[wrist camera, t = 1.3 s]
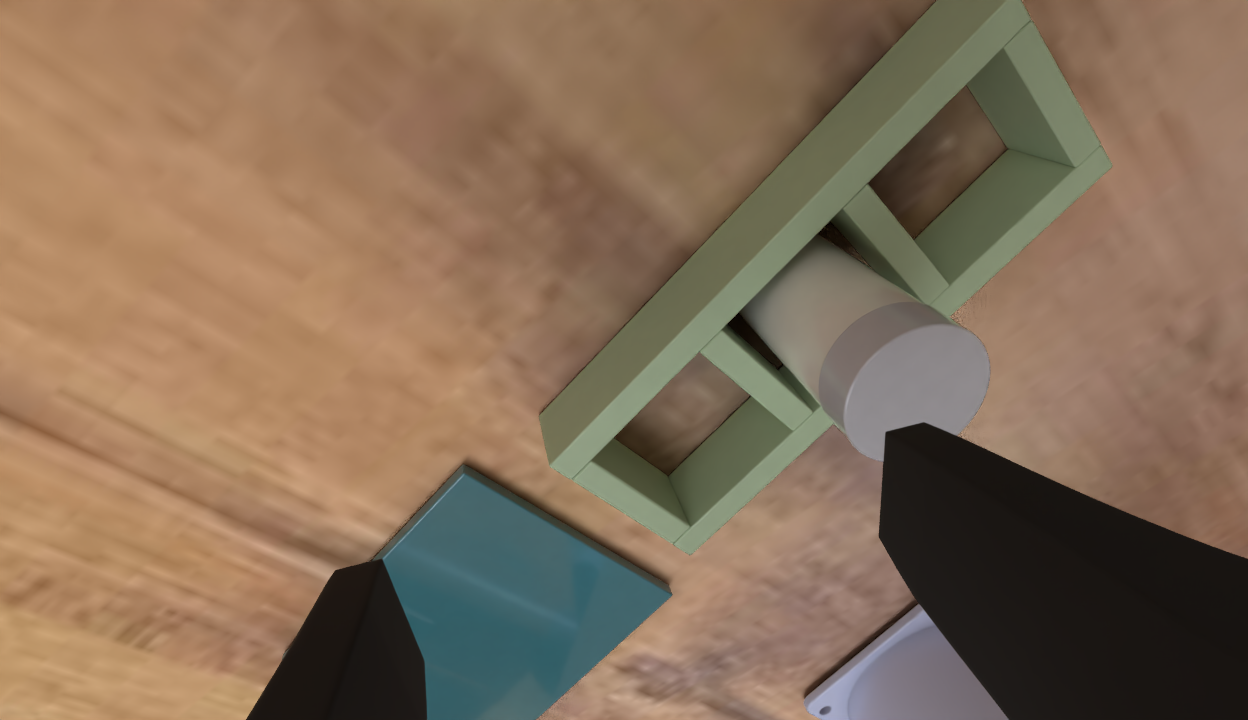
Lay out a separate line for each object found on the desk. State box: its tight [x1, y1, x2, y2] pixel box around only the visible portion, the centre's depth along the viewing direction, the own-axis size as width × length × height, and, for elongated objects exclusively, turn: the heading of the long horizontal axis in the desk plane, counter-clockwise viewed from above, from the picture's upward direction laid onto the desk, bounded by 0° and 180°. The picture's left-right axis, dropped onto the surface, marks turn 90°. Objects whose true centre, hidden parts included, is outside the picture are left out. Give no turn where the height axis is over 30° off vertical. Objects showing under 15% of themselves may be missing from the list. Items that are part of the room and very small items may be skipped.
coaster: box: [282, 464, 672, 720], centre depth 23 cm, size 9×9×1 cm
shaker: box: [739, 233, 990, 462], centre depth 17 cm, size 3×3×6 cm
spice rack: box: [539, 0, 1112, 555], centre depth 19 cm, size 6×15×2 cm, turn 136°
